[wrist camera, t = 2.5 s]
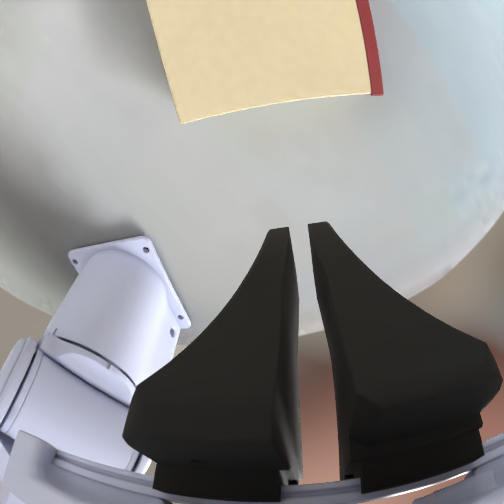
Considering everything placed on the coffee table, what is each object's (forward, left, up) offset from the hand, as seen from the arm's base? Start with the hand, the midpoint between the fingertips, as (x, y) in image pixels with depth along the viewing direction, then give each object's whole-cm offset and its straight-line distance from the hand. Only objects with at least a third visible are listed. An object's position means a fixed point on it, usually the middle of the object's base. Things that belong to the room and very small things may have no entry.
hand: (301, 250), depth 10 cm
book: (+10, 0, -8) cm, 13 cm away
